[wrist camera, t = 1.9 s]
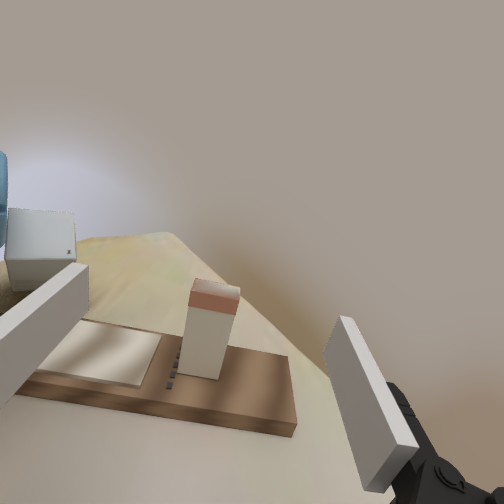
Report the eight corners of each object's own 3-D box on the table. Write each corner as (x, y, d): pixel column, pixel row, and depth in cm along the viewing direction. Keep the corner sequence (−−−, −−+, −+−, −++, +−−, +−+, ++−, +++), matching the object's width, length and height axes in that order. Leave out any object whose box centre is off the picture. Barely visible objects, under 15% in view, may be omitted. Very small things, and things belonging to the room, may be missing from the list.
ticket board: (-10, 389, 29) (-14, 369, 28) (53, 327, 38) (51, 309, 37) (291, 437, 32) (299, 420, 31) (282, 368, 42) (288, 353, 40)
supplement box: (68, 249, 49) (76, 212, 39) (68, 289, 46) (77, 260, 37) (12, 247, 44) (7, 205, 35) (9, 292, 41) (3, 260, 32)
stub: (176, 373, 33) (190, 290, 28) (181, 357, 36) (195, 278, 31) (218, 380, 34) (239, 300, 29) (220, 364, 36) (240, 287, 31)
